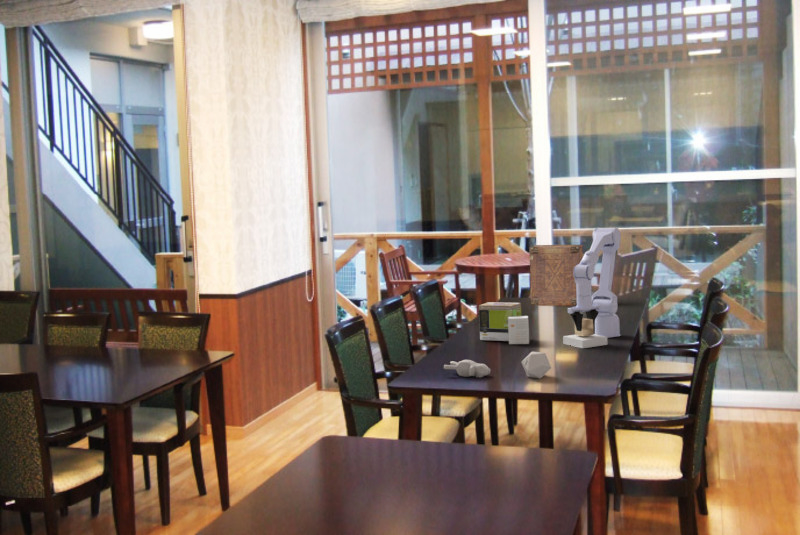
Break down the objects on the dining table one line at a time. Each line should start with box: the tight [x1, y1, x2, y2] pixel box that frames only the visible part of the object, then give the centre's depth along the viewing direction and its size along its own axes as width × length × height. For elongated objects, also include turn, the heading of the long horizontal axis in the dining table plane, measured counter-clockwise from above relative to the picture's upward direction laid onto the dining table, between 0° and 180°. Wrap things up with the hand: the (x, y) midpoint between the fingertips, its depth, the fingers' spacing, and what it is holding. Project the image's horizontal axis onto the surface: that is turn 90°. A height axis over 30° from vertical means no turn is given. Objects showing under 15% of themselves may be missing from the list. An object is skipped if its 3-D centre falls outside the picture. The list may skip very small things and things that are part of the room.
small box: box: [508, 315, 530, 345], centre depth 352 cm, size 8×6×10 cm
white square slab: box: [562, 333, 608, 349], centre depth 344 cm, size 12×12×3 cm
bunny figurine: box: [443, 359, 491, 379], centre depth 299 cm, size 10×5×15 cm
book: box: [528, 244, 584, 307], centre depth 449 cm, size 25×9×30 cm, turn 68°
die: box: [521, 351, 552, 379], centre depth 293 cm, size 8×9×10 cm
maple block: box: [573, 317, 594, 336], centre depth 344 cm, size 5×5×6 cm
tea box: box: [478, 301, 522, 342], centre depth 361 cm, size 15×10×15 cm, turn 61°
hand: (584, 329), depth 344 cm, fingers closed on maple block, 5 cm apart
